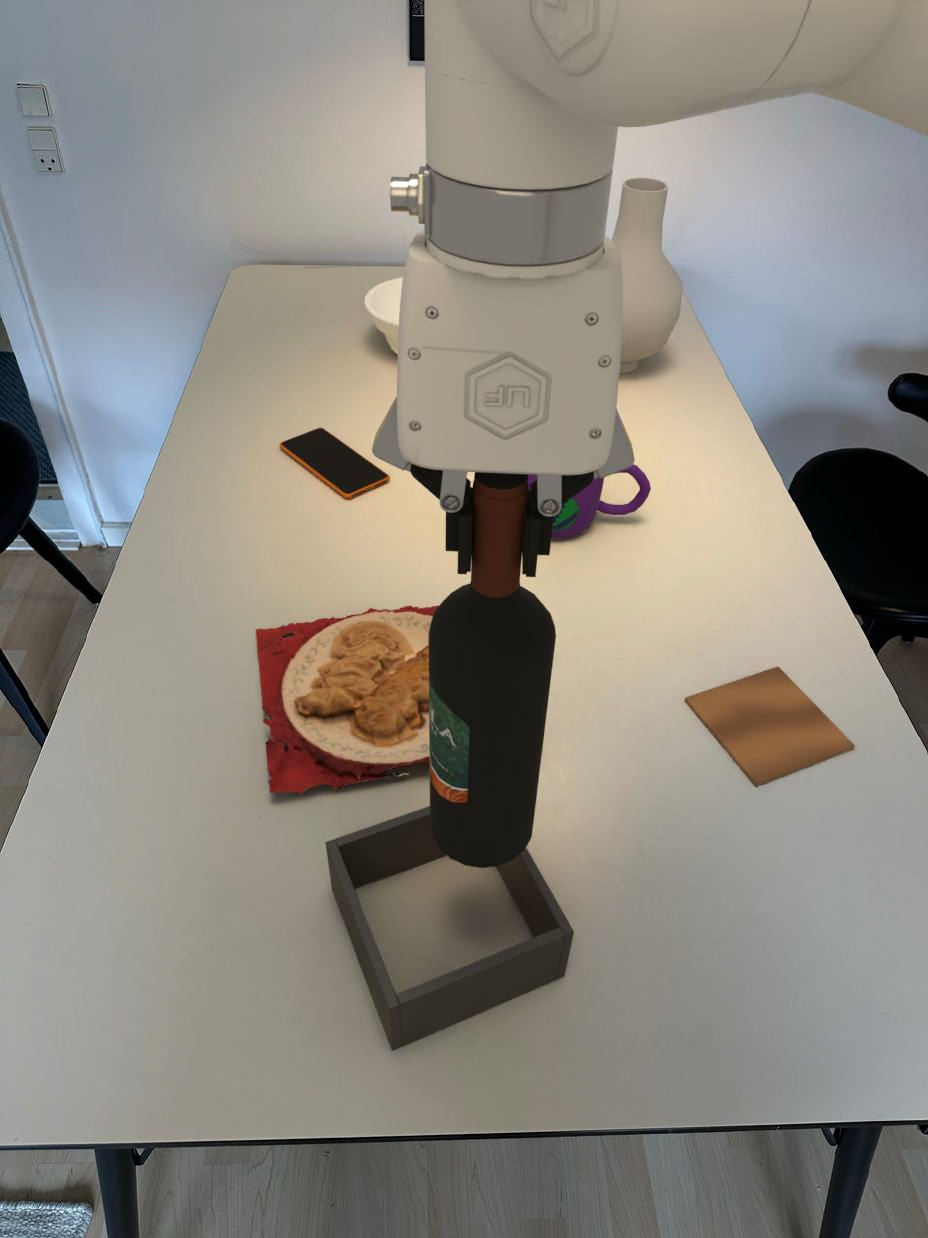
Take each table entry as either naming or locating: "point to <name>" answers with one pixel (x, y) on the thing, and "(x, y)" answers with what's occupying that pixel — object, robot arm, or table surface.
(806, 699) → the cork mat
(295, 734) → the plate with food
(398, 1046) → the grey square tray frame
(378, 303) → the bowl
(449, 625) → the wine bottle
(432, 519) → the table surface
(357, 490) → the smartphone
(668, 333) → the vase
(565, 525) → the mug
